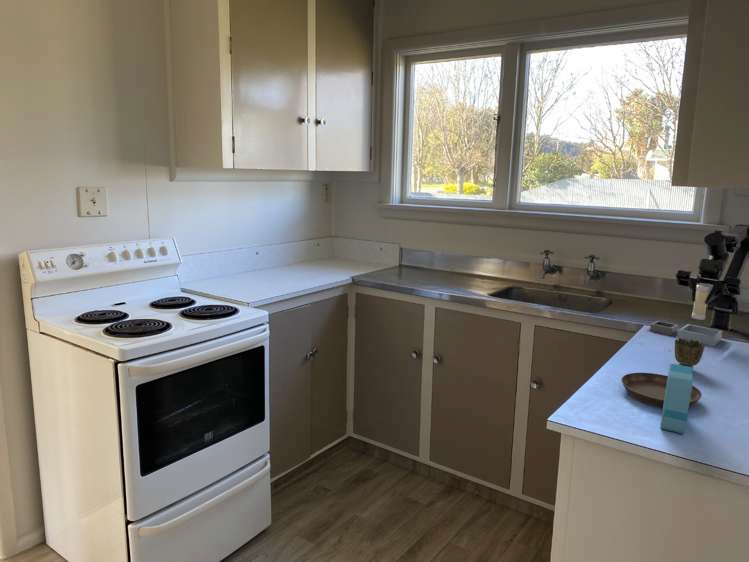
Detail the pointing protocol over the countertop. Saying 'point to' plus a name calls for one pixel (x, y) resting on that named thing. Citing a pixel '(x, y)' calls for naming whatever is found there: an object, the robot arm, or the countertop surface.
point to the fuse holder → (664, 328)
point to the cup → (688, 352)
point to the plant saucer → (652, 388)
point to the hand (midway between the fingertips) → (699, 302)
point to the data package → (677, 398)
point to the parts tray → (700, 334)
